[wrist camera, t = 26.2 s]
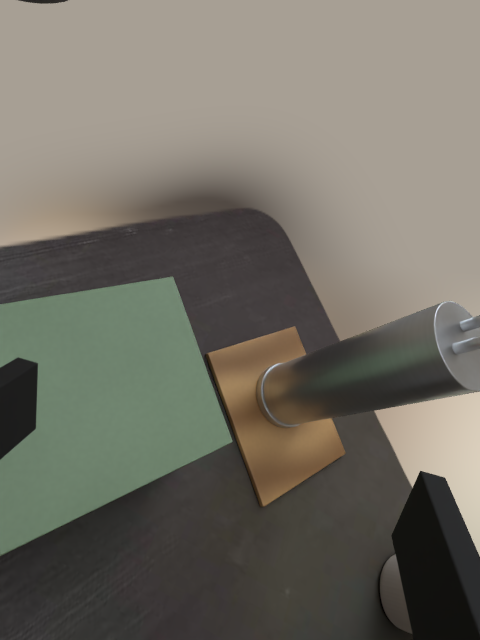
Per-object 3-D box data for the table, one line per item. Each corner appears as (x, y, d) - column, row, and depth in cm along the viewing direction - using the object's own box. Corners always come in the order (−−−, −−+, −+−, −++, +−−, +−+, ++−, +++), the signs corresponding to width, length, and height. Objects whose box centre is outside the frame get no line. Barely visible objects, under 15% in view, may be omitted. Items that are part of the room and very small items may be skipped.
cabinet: (-10, 539, 28) (-3, 557, 21) (-60, 353, 30) (-68, 314, 23) (184, 449, 38) (233, 441, 31) (137, 312, 40) (173, 276, 33)
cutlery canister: (249, 415, 42) (516, 350, 22) (263, 355, 45) (503, 250, 25) (301, 437, 45) (581, 397, 24) (310, 378, 48) (562, 301, 28)
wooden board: (205, 354, 42) (207, 353, 42) (292, 327, 50) (295, 326, 50) (260, 506, 40) (263, 507, 40) (342, 453, 48) (345, 453, 47)
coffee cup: (437, 623, 47) (593, 669, 35) (382, 660, 42) (546, 730, 30) (413, 530, 50) (551, 544, 38) (359, 553, 45) (501, 579, 33)
